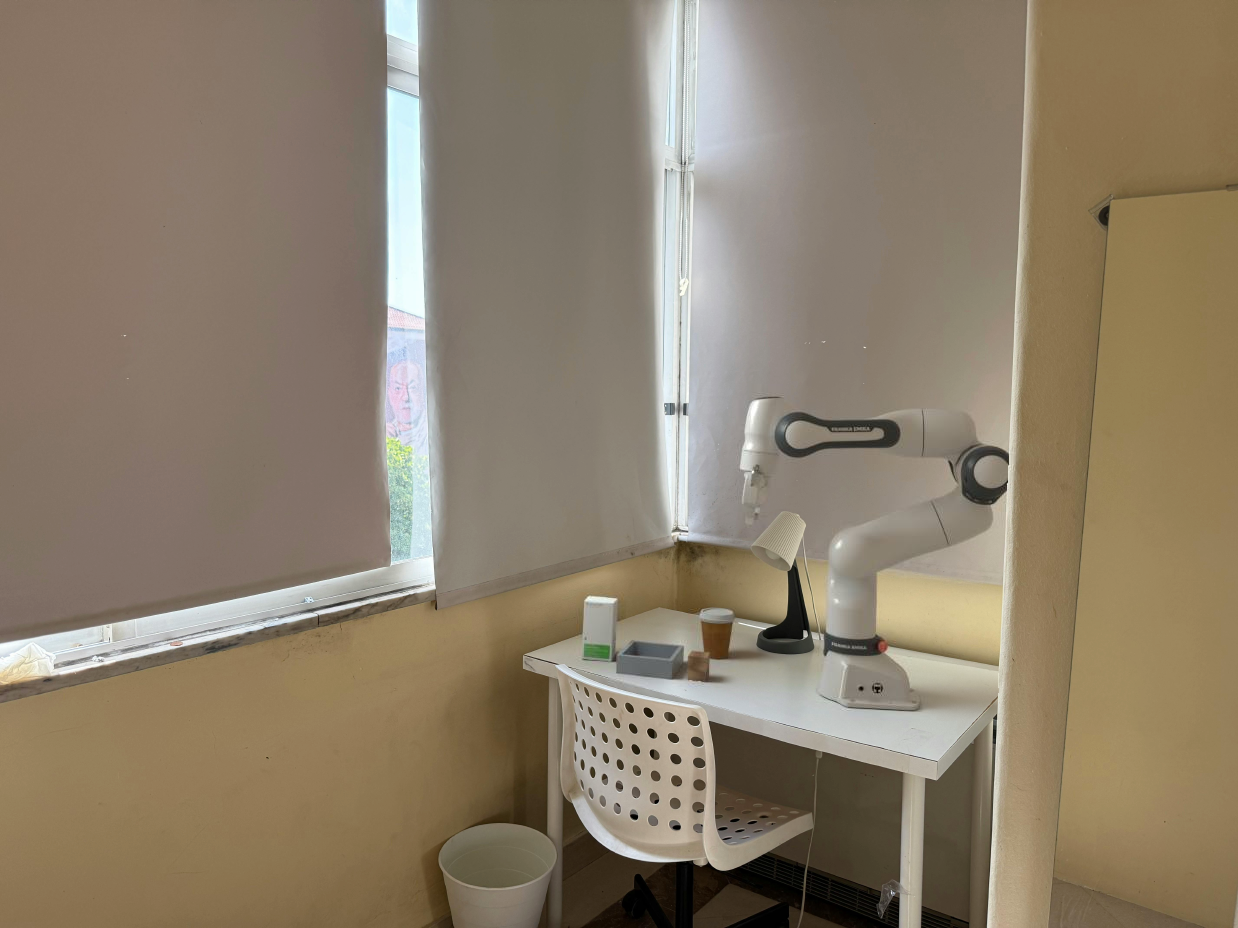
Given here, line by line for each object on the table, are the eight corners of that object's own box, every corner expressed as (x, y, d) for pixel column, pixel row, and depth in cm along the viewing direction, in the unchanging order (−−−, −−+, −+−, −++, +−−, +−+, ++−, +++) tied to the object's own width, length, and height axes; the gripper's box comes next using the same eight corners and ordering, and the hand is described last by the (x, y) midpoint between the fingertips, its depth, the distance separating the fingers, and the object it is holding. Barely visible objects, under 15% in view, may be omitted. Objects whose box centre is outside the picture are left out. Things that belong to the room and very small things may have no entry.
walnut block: (709, 676, 186) (709, 652, 186) (705, 682, 182) (706, 657, 182) (691, 674, 187) (691, 650, 187) (687, 680, 183) (687, 655, 183)
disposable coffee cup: (718, 648, 210) (719, 605, 210) (741, 657, 202) (742, 613, 201) (690, 653, 205) (691, 609, 204) (713, 663, 197) (714, 617, 196)
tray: (683, 662, 197) (683, 645, 197) (671, 679, 183) (672, 660, 183) (631, 656, 201) (631, 640, 201) (616, 672, 187) (616, 654, 187)
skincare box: (581, 659, 198) (582, 600, 197) (586, 652, 204) (587, 595, 204) (612, 661, 196) (614, 602, 196) (617, 654, 203) (618, 596, 202)
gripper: (768, 467, 169) (760, 529, 170) (776, 464, 188) (769, 519, 189) (740, 464, 170) (732, 524, 171) (750, 461, 190) (743, 515, 191)
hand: (751, 521), depth 181 cm, fingers open, 8 cm apart
